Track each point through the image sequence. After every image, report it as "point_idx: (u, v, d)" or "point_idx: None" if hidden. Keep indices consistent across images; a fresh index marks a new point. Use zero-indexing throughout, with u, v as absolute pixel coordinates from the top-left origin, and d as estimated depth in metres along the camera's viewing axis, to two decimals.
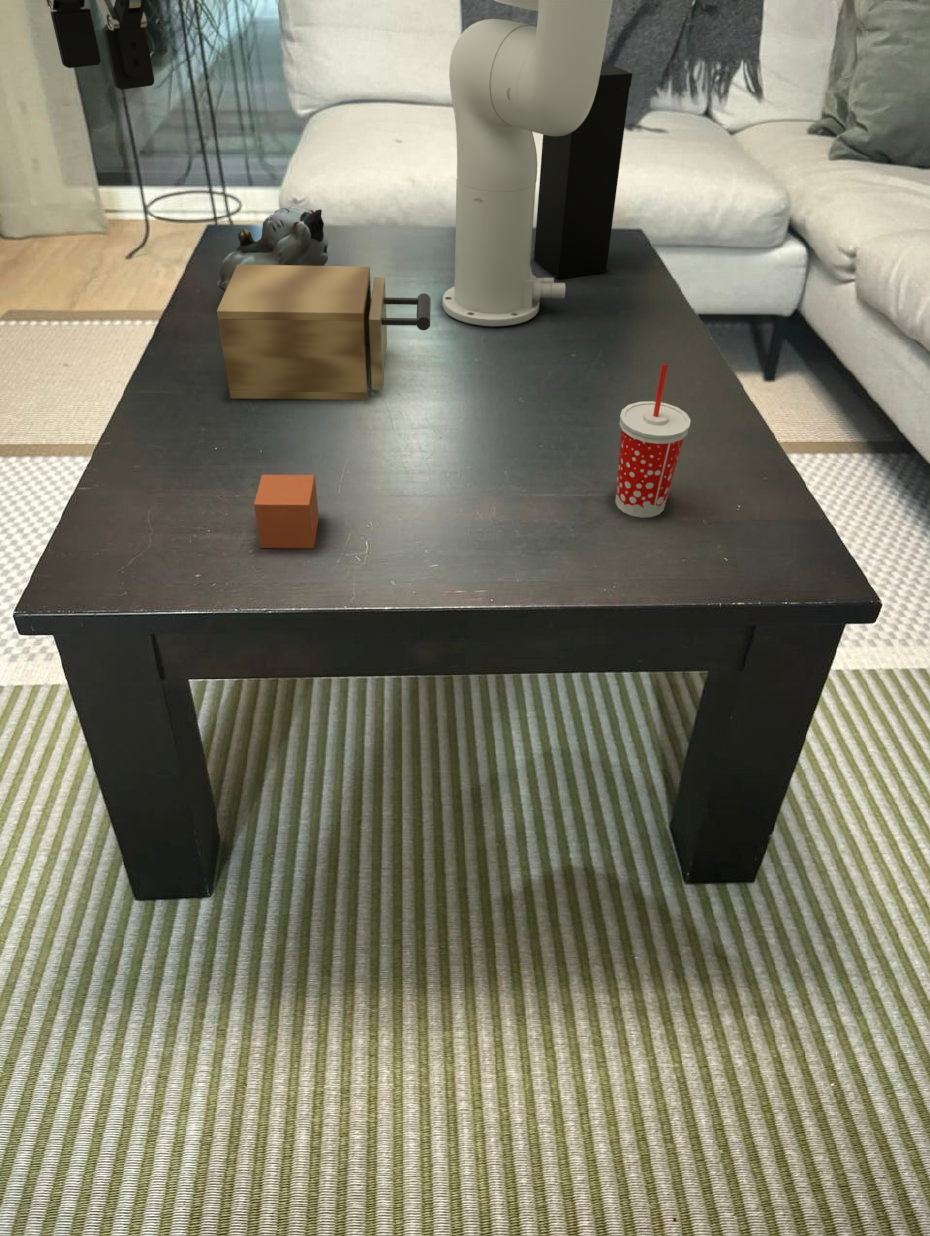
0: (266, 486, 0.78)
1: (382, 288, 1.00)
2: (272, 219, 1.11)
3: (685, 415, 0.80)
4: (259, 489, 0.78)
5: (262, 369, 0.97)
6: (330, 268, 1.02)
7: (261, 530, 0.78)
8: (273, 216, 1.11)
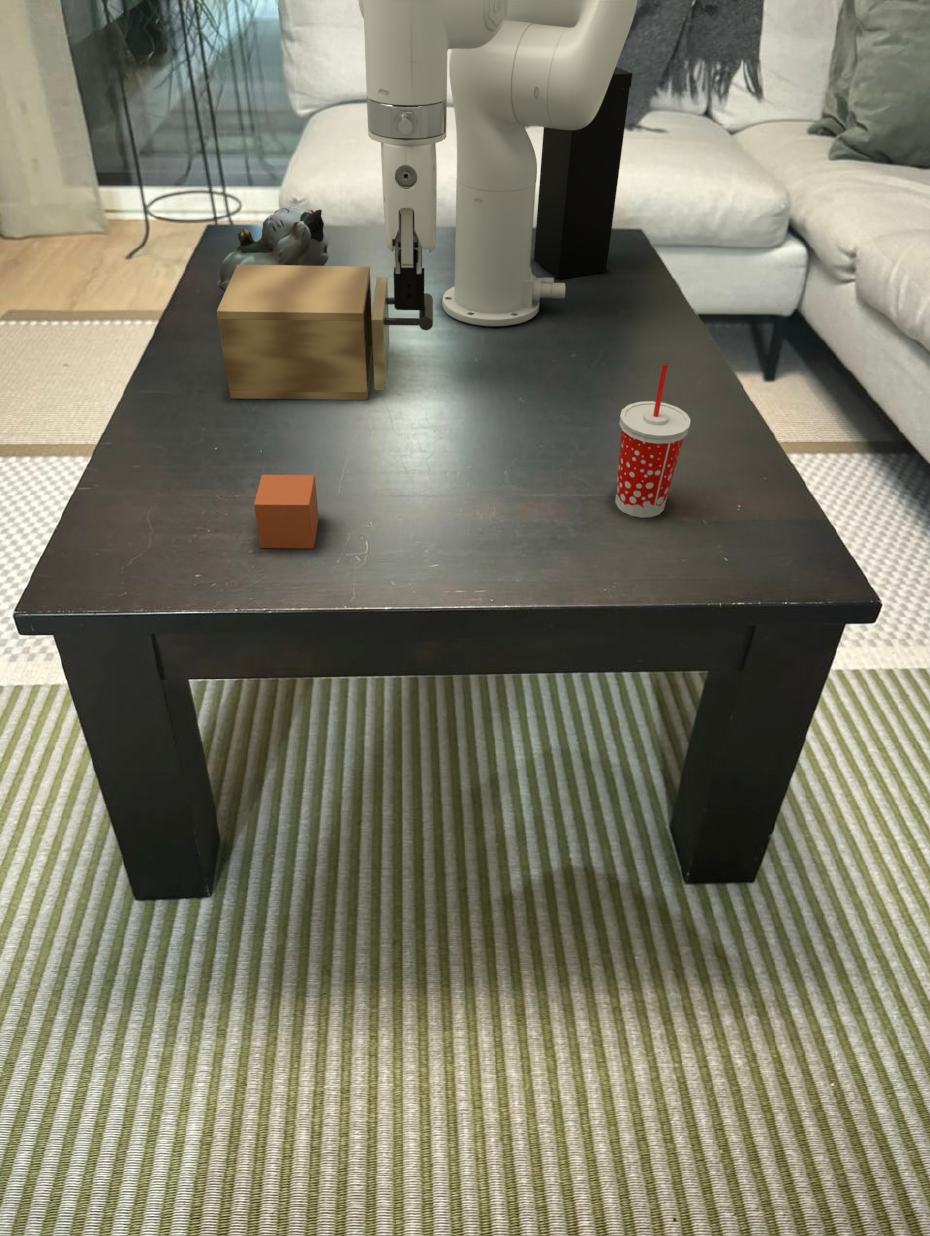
0: (266, 486, 0.78)
1: (385, 288, 1.00)
2: (272, 219, 1.11)
3: (685, 415, 0.80)
4: (259, 489, 0.78)
5: (262, 369, 0.97)
6: (330, 268, 1.02)
7: (261, 530, 0.78)
8: (273, 216, 1.11)
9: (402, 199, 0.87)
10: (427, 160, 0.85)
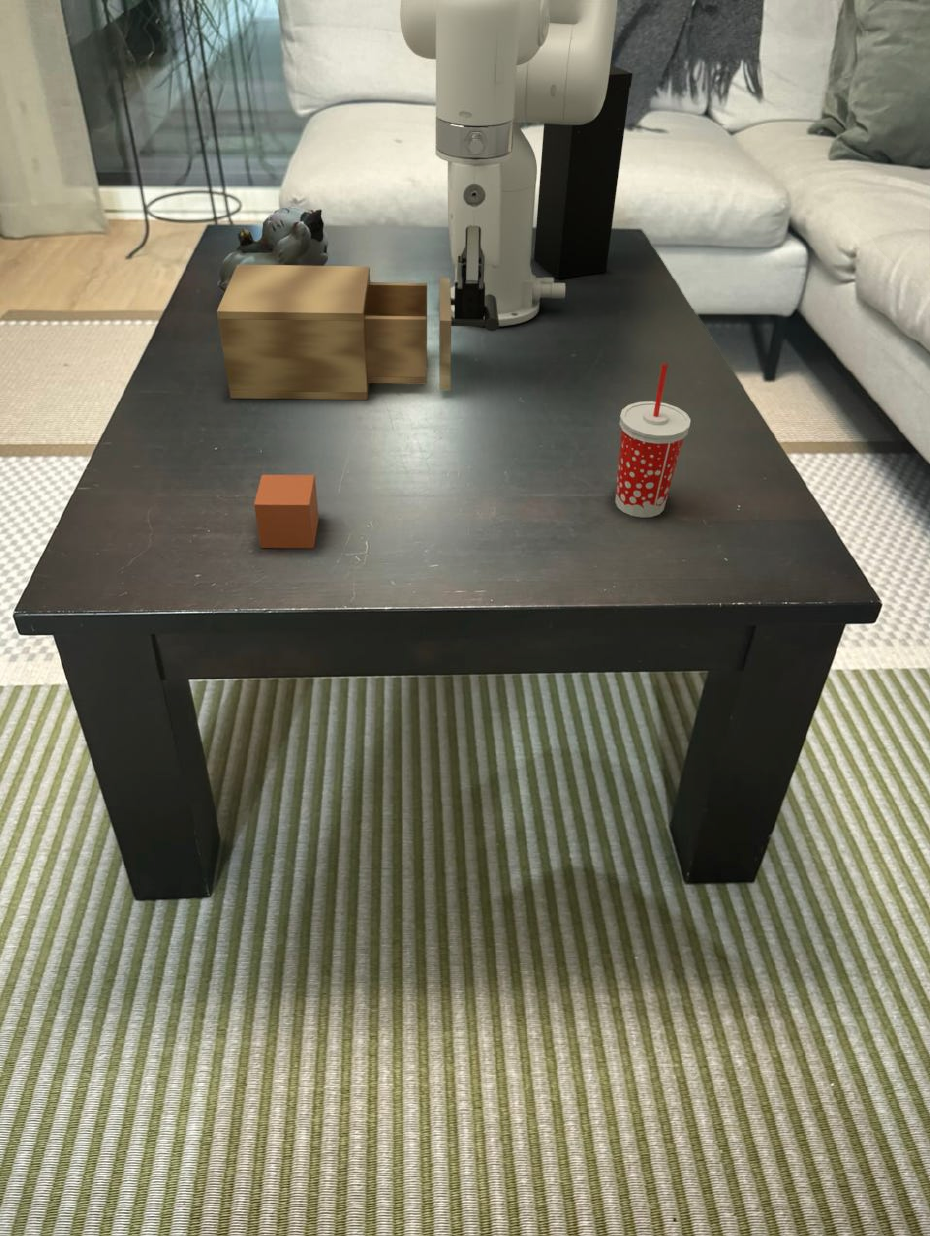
0: (266, 486, 0.78)
1: (449, 289, 1.01)
2: (272, 219, 1.11)
3: (685, 415, 0.80)
4: (259, 489, 0.78)
5: (262, 369, 0.97)
6: (330, 268, 1.02)
7: (261, 530, 0.78)
8: (273, 216, 1.11)
9: (470, 217, 0.89)
10: (495, 178, 0.87)
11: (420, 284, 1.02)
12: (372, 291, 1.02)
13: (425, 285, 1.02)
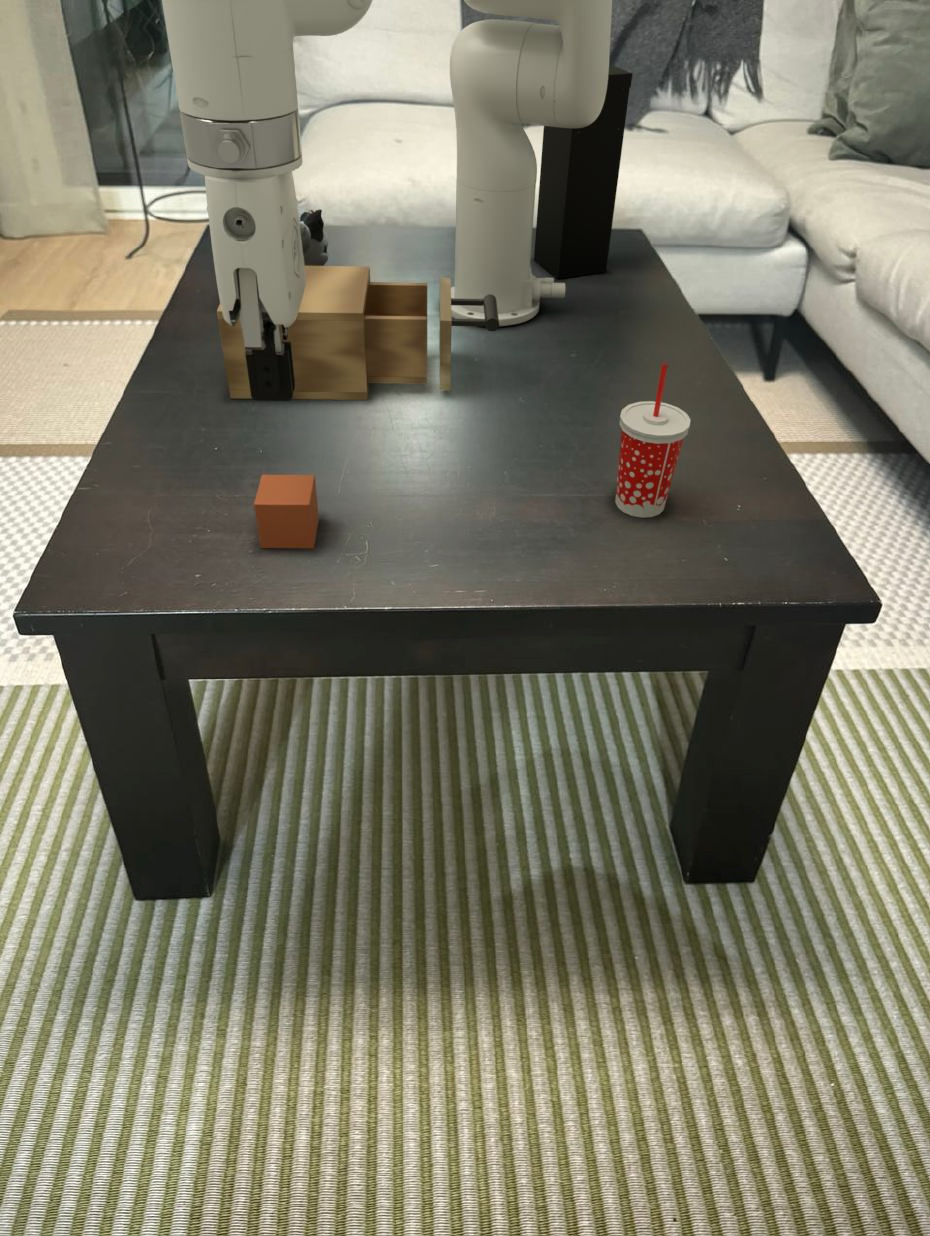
0: (266, 486, 0.78)
1: (449, 289, 1.01)
2: None
3: (685, 415, 0.80)
4: (259, 489, 0.78)
5: None
6: (330, 268, 1.02)
7: (261, 530, 0.78)
8: None
9: (237, 256, 0.60)
10: (269, 200, 0.58)
11: (421, 284, 1.02)
12: (372, 291, 1.02)
13: (425, 285, 1.02)
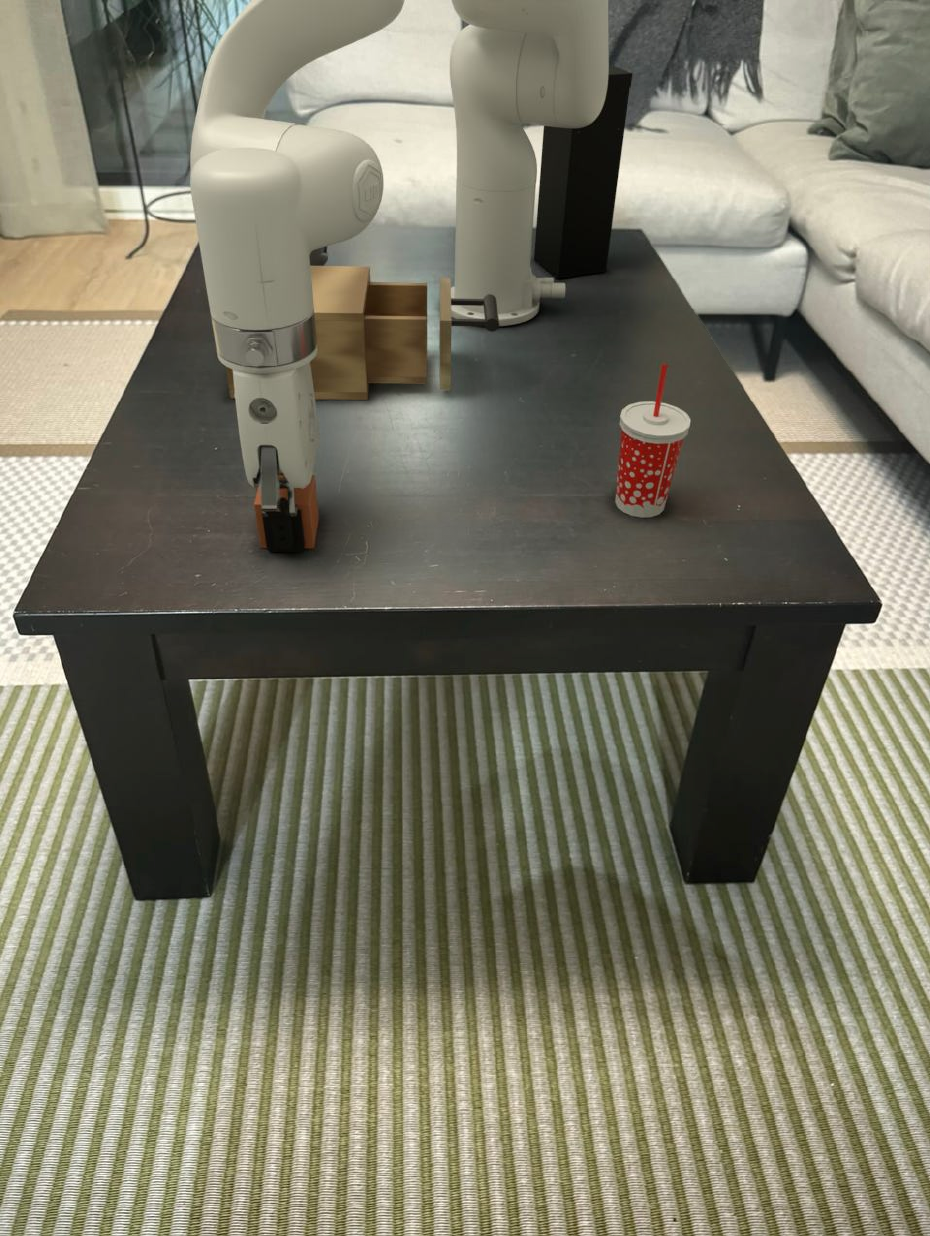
0: None
1: (449, 289, 1.01)
2: None
3: (685, 415, 0.80)
4: (259, 489, 0.78)
5: None
6: (330, 268, 1.02)
7: (261, 530, 0.78)
8: None
9: (260, 435, 0.69)
10: (288, 391, 0.67)
11: (421, 284, 1.02)
12: (372, 291, 1.02)
13: (425, 285, 1.02)
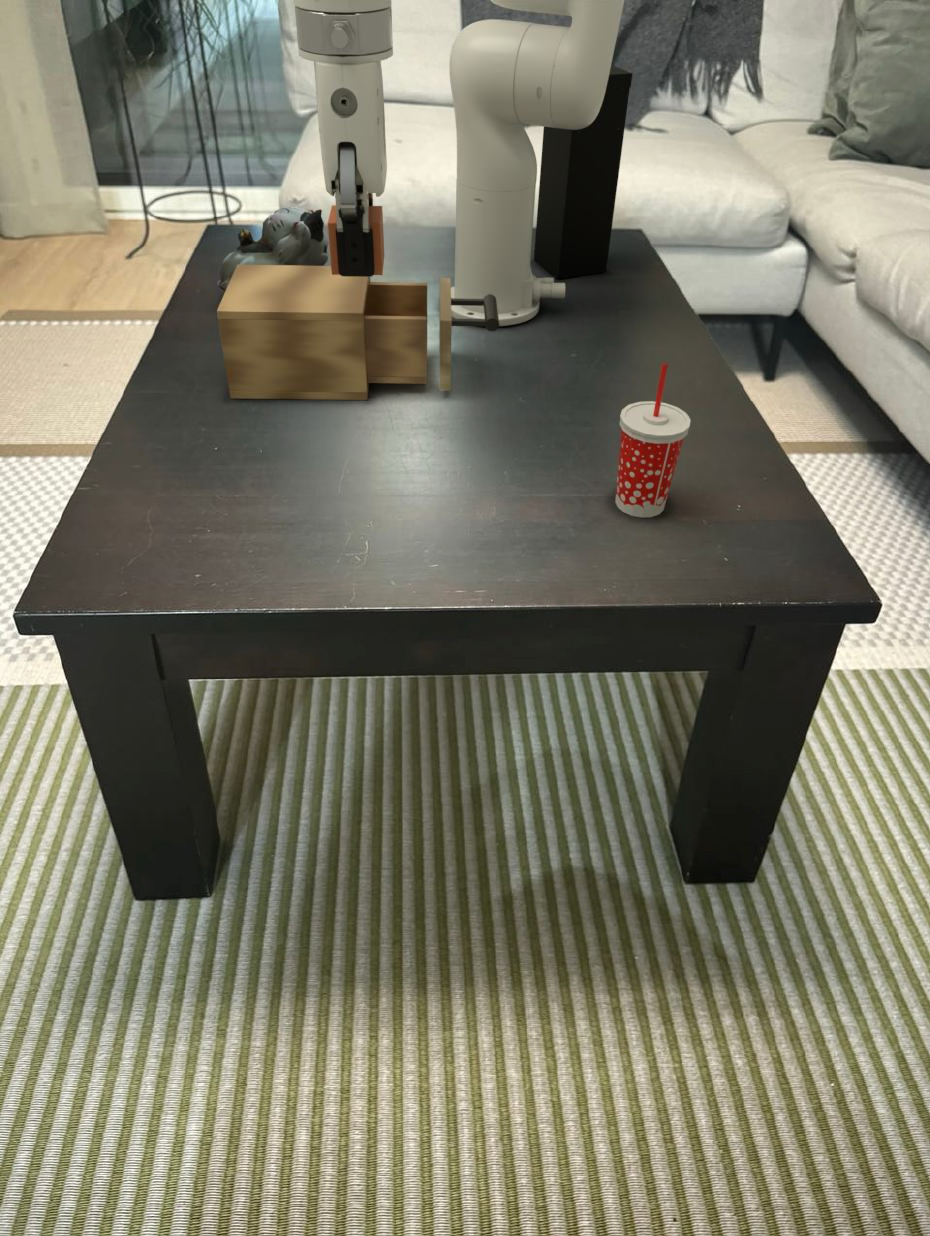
0: None
1: (449, 289, 1.01)
2: (272, 219, 1.11)
3: (685, 415, 0.80)
4: (331, 214, 0.81)
5: (262, 369, 0.97)
6: (330, 268, 1.02)
7: (333, 253, 0.82)
8: (273, 216, 1.11)
9: (340, 131, 0.72)
10: (369, 81, 0.71)
11: (421, 284, 1.02)
12: (372, 291, 1.02)
13: (425, 285, 1.02)
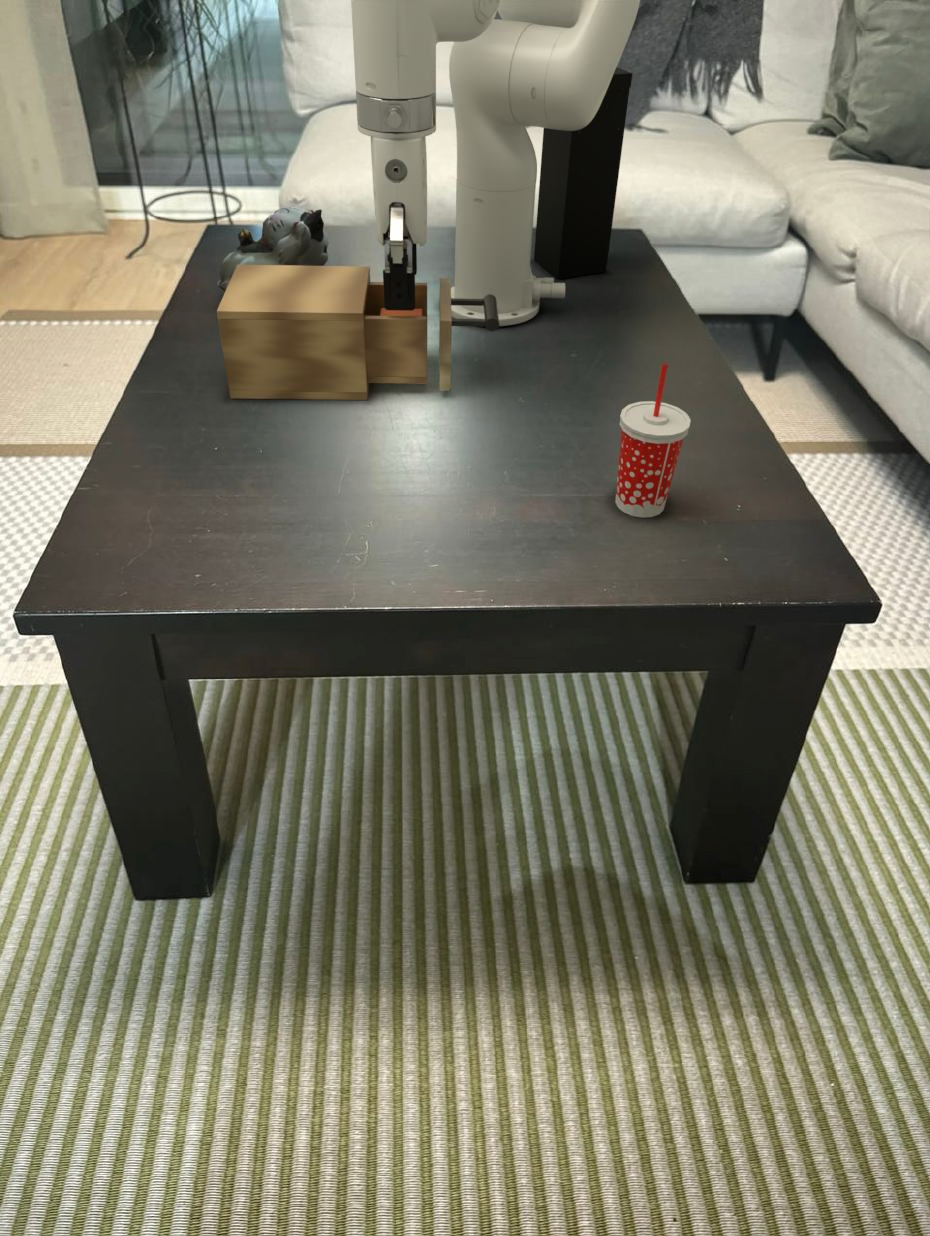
0: (386, 314, 1.00)
1: (449, 289, 1.01)
2: (272, 219, 1.11)
3: (685, 415, 0.80)
4: None
5: (262, 369, 0.97)
6: (330, 268, 1.02)
7: None
8: (273, 216, 1.11)
9: (392, 193, 0.87)
10: (417, 153, 0.85)
11: (421, 284, 1.02)
12: (372, 291, 1.02)
13: (425, 285, 1.02)
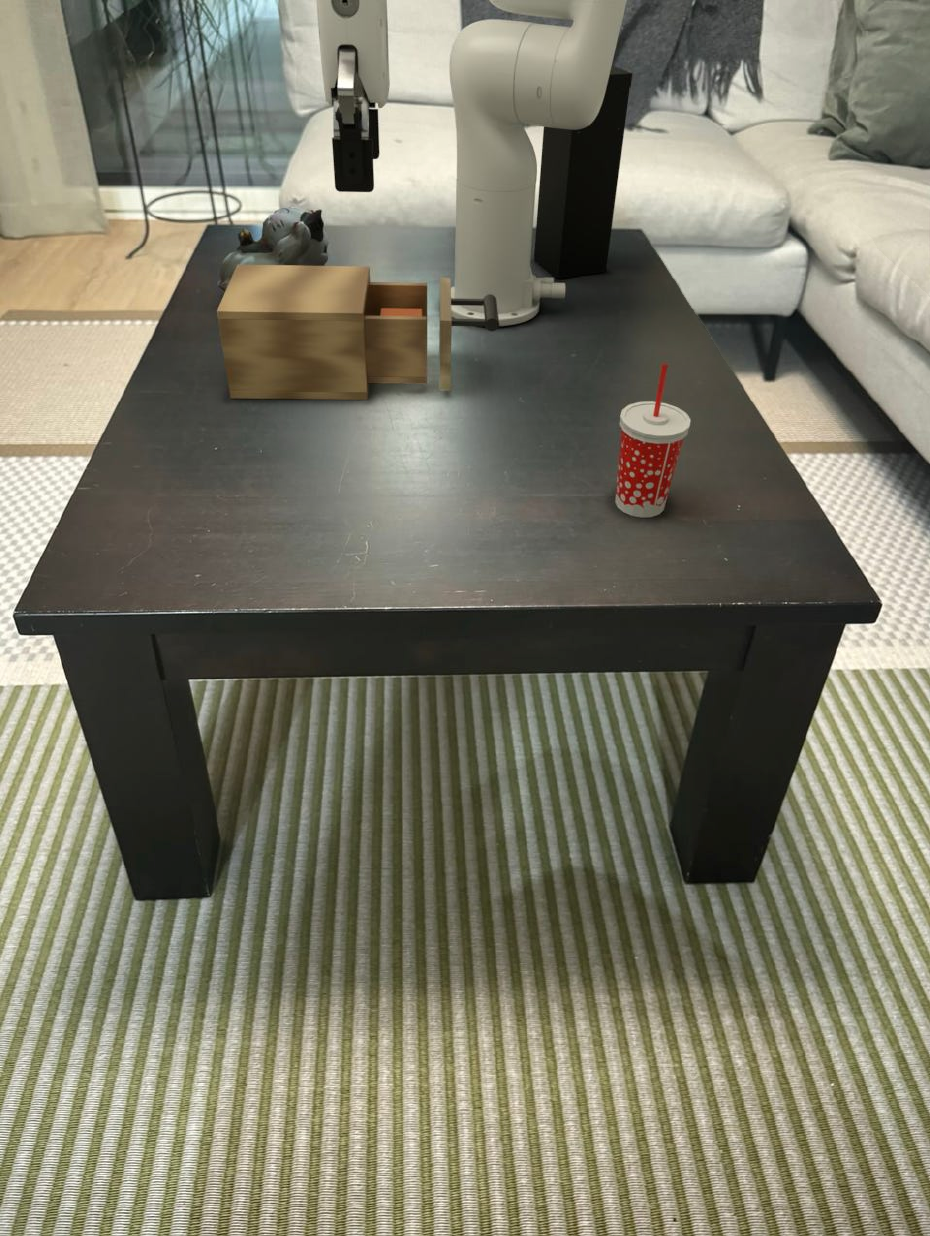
0: (386, 314, 1.00)
1: (449, 289, 1.01)
2: (272, 219, 1.11)
3: (685, 415, 0.80)
4: None
5: (262, 369, 0.97)
6: (330, 268, 1.02)
7: None
8: (273, 216, 1.11)
9: (341, 32, 0.69)
10: None
11: (421, 284, 1.02)
12: (372, 291, 1.02)
13: (425, 285, 1.02)
